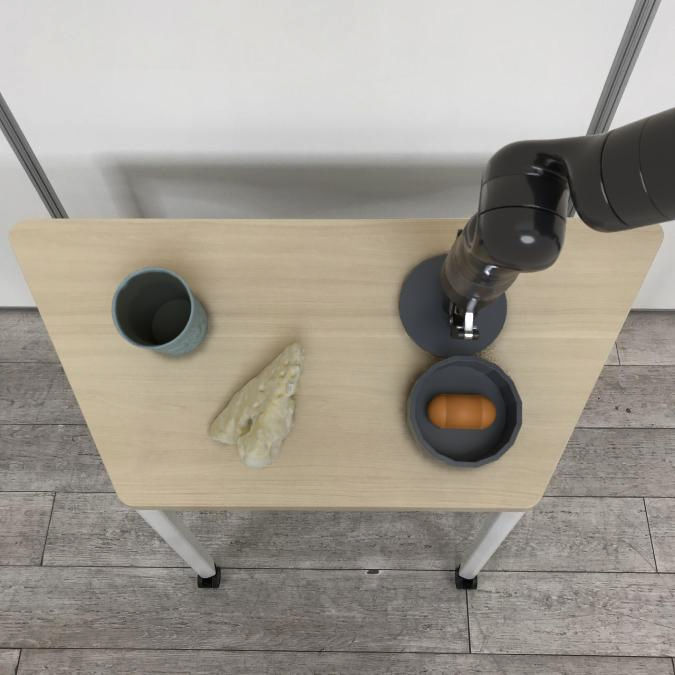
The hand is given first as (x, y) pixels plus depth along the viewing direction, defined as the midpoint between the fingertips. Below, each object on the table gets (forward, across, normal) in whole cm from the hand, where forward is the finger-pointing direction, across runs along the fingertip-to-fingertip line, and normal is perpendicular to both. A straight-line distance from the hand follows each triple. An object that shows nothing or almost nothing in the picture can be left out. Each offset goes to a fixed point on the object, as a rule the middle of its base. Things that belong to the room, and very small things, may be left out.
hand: (454, 302), depth 83 cm
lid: (+2, 0, 0) cm, 2 cm away
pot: (+3, -15, -1) cm, 15 cm away
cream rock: (+3, -14, +25) cm, 29 cm away
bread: (+2, -15, -1) cm, 15 cm away
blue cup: (+3, -4, +38) cm, 38 cm away
